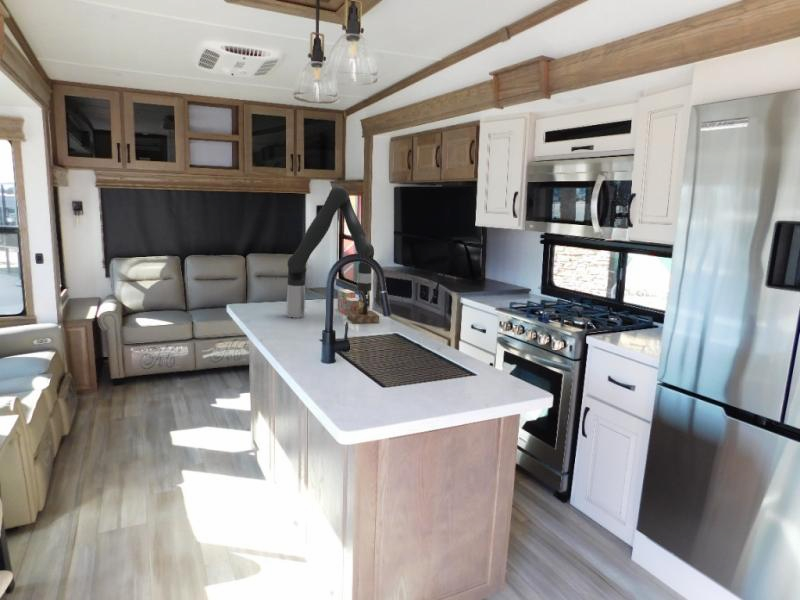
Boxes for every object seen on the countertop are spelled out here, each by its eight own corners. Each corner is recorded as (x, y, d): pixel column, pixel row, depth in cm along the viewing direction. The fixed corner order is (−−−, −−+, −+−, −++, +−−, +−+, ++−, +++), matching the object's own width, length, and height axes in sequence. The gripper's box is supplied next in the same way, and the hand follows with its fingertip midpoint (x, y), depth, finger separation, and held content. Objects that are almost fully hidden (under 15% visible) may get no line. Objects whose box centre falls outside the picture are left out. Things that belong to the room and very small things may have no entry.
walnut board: (352, 323, 284) (353, 316, 283) (347, 318, 297) (347, 310, 296) (378, 323, 288) (379, 315, 287) (372, 317, 301) (372, 310, 300)
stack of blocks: (360, 317, 302) (361, 295, 300) (349, 317, 299) (350, 295, 297) (347, 309, 321) (348, 288, 319) (337, 310, 318) (337, 289, 316)
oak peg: (359, 320, 289) (360, 302, 287) (357, 318, 294) (357, 300, 292) (369, 320, 291) (370, 302, 289) (366, 318, 296) (367, 300, 294)
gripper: (354, 279, 294) (353, 309, 297) (360, 283, 281) (359, 314, 284) (368, 279, 296) (366, 309, 299) (374, 283, 283) (373, 314, 286)
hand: (363, 312), depth 291 cm, fingers open, 7 cm apart
